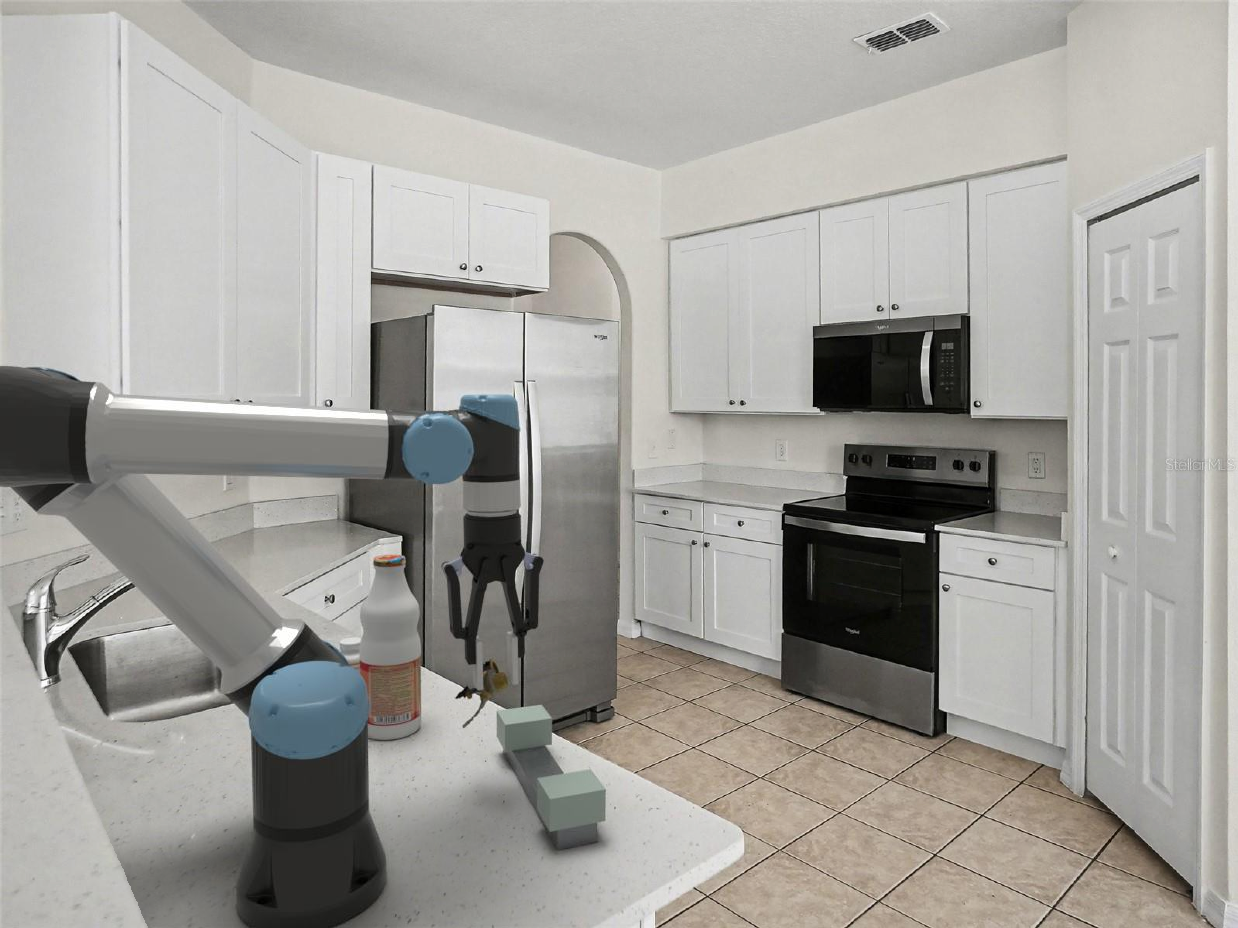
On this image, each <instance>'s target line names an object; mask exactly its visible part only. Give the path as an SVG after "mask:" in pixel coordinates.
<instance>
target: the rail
mask: <svg viewBox="0 0 1238 928" xmlns="http://www.w3.org/2000/svg"><path fill="white" fill-rule="evenodd" d="M502 752H503V755H504V756H505V757H506V759H507V761H508V763H509V765H510V767H511V769H512V771H513V772H514V774H515V775H516V778H517V779H518V781H519V783H520V784H521V786H522V788H523V790H524V792H525V794H526V795H527V798H528V799H529V801H530V804H532V807H533V808H534V810H535V812H536V814H537V815H538V817H539V819H540V821H541V823H542V824H543V826H544V828H545V830H546V833H548V836H549V838H550V839H551V841H552V843H553V844H554V846H555V848H556V850H557V851H561V850H567V849H570V848H575V847H580V846H586V845H591V844H596V843H598V826H599V825H598V823H599V822H598V823H592V824H587V825H582V826H577V827H572V828H567V829H561V830H556V831H551V832H550V831H549V830H548V828H547V826H546V824H545V822H544V821H543V819H542V817H541V815H540V813H539V812H538V810H537V778H541V777H547V776H553V775H559V774H565V773H564V771H563V769H562V768H561V767H560V765H559V764H558V762H557V761H556V759H555V757H554V756H553V755H552V753H551V752H550V750H549V749H548V748H547V745H546V746H540V747H533V748H526V749H520V750H513V751H507V752H505V751H504V749H503V748H502Z"/></svg>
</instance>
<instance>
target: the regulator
mask: <svg viewBox="0 0 1238 928" xmlns="http://www.w3.org/2000/svg"><path fill="white" fill-rule="evenodd" d="M508 686H509V679H508V675H506V673H505V672H503V671H500V668H499V666H498V665H497V663H496V661H495V660H493V659H489V660H488V661H487V660H486V661H484V663H483V690H477V689H476V687H472V688H470V687H469V686H468V684H467V685H466V686H465V687H464V688H462V690H461V691H459V692H458V693H457V695H456V697H454V700H458V699H461V698H463V699H466V698H467V700H471V699H473V695H475V693H479V699H480V703H479V707H478V709H477V710H476V712H475V713H474V715H473V716H471V718H469V719H468V720H467V721H465V722H464V724H462V728H463V729H465V728H467V726H468V725H470V724H471V722H473V721H474V718H477V716H478V715H479V714H480V713H481V710H482V709H484V707H485V705H486V703H487V702H488V701H491V700H493V699H498V698H499V697H500V696H501V695H502V691H503V690H504V689H507V687H508Z"/></svg>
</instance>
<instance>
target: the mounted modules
mask: <svg viewBox="0 0 1238 928" xmlns="http://www.w3.org/2000/svg"><path fill="white" fill-rule="evenodd" d="M496 738H497V739H498V741H499V743H500V745H501V747H502V750H503V749H504V751H505V752H507V751H513V750H520V749H526V748H533V747H540V746H546V747H547V746H551V745H553V744H552V743H553V718H552V716H551V715H550V713H549V712H548V711H547V710H546V709H545V707H544V706H543V705H542V704H537V705H536V704H535V705H530V706H523V707H515V708H507V709H499V710H496ZM606 790H607V789H606V788H605V786H604V785H603V783H602V782H601V781H600V780H599V778H598V776H596V774H595V773H594V771H592V769H584V770H578V771H571V772H566V773H564V774H559V775H553V776H547V777H541V778H537V810H538V812H539V813H540V815H541V817H542V819H543V821H544V822H545V824H546V826H547V828H548V830H549V831H550V832H551V831H556V830H561V829H567V828H572V827H577V826H582V825H587V824H592V823H601V822H605V821H606V808H607V807H606V803H607V802H606V801H607V800H606V795H607V793H606Z"/></svg>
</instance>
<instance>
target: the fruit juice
mask: <svg viewBox="0 0 1238 928" xmlns="http://www.w3.org/2000/svg"><path fill="white" fill-rule="evenodd" d="M372 564H373V569H375V574H374V578H373V582H372V585H371V588H370V591H369V593H368V595H367V597H366V598H365V599H364V601H362V602H363V603H362V604H361V606H360V609H359V610H360V611H359V618H360V619H359V620H360V623H361V627H362V630H363V631H362V633H363V634H362V635H361V637H360V638H361V641H360V652H359V659H360V674H361V676H362V677H363V679H364V680H365V683H366V687H367V693H368V697H369V701H370V711H369V716H368V739H372V740H379V741H381V740H382V741H388V740H389V741H391V740H392V741H393V740H397V739H401V738H402V739H403V738H406V737H408V736H411V735H412V734H414V733H416V732H417V731H418V730H419V728H420V727H421V723H422V674H421V673H422V665H421V663H422V660H421V659H422V650H421V649H422V648H421V647H422V646H421V645H422V644H421V638H420V634H419V632H418V629H417V626H418V622H419V619H420V613H421V612H420V605H419V602H418V601H417V599H416V597H415V596H414V594H413V593H412V591H411V589H410V587H409V584H408V582H407V578H406V574H405V568H406V565H407V561H406V557H405V555H401V554H381V555H378V556H375V557H374V558H373V563H372Z"/></svg>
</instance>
